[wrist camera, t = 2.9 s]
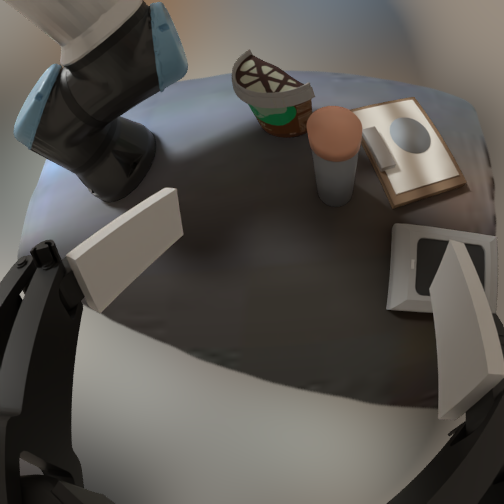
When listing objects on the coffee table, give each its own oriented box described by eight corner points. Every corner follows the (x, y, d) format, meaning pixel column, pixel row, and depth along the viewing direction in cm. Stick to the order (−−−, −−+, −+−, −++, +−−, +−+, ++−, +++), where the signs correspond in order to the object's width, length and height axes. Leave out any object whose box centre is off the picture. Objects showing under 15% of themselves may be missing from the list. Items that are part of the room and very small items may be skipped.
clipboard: (392, 209, 29) (396, 202, 27) (345, 116, 33) (345, 106, 31) (463, 186, 27) (469, 178, 24) (412, 101, 31) (415, 92, 28)
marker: (323, 212, 31) (318, 155, 19) (311, 179, 33) (298, 114, 20) (358, 201, 31) (372, 140, 18) (345, 169, 32) (347, 101, 19)
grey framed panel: (500, 315, 20) (392, 309, 24) (486, 315, 23) (385, 309, 28) (501, 234, 21) (398, 219, 26) (488, 241, 25) (391, 228, 29)
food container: (234, 115, 38) (210, 71, 29) (265, 93, 38) (247, 47, 28) (286, 161, 34) (269, 113, 25) (320, 135, 34) (313, 84, 24)
